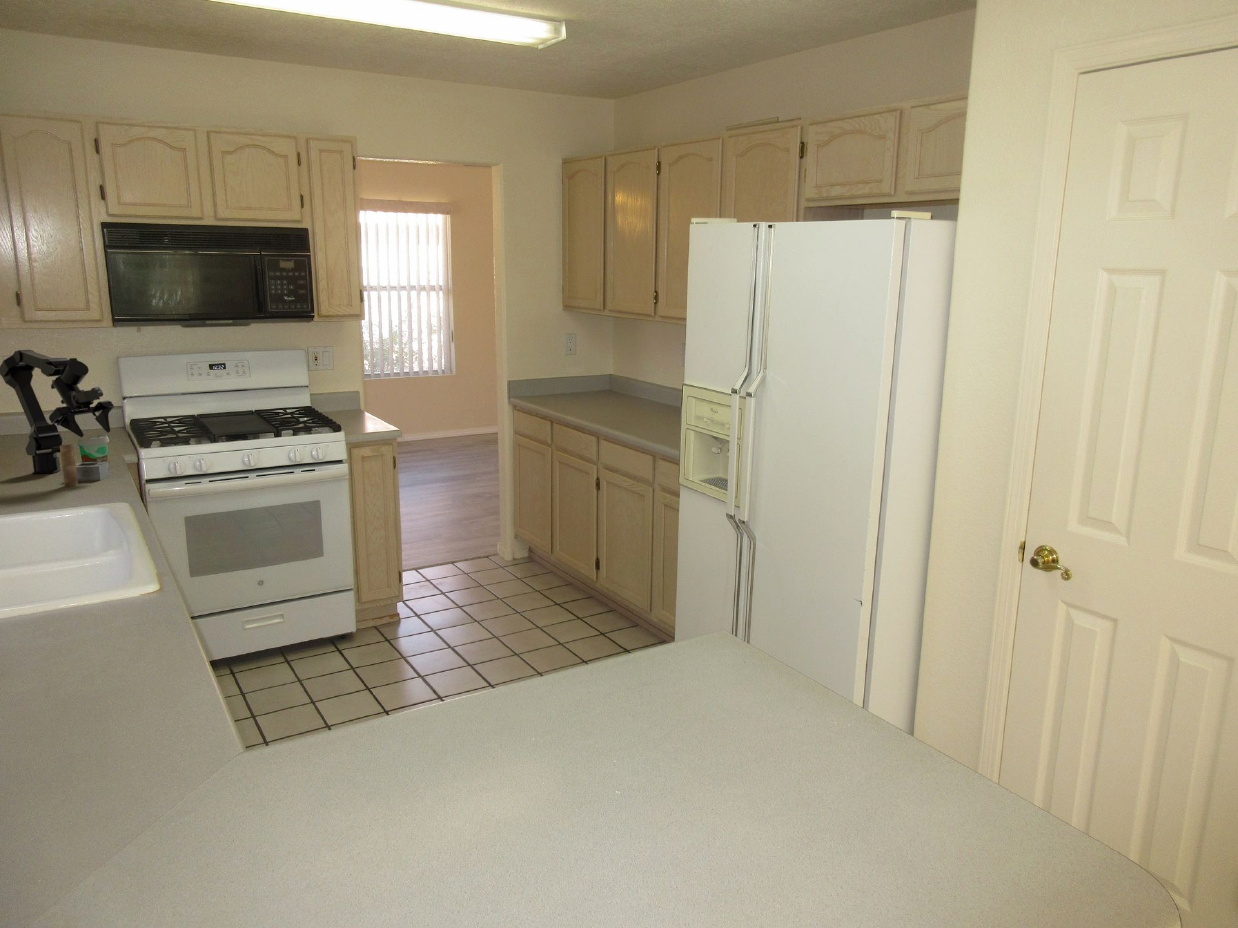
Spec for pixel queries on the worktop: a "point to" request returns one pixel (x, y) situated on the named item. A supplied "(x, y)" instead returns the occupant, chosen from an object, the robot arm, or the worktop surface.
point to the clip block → (92, 470)
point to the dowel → (68, 465)
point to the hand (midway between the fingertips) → (96, 434)
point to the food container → (94, 449)
